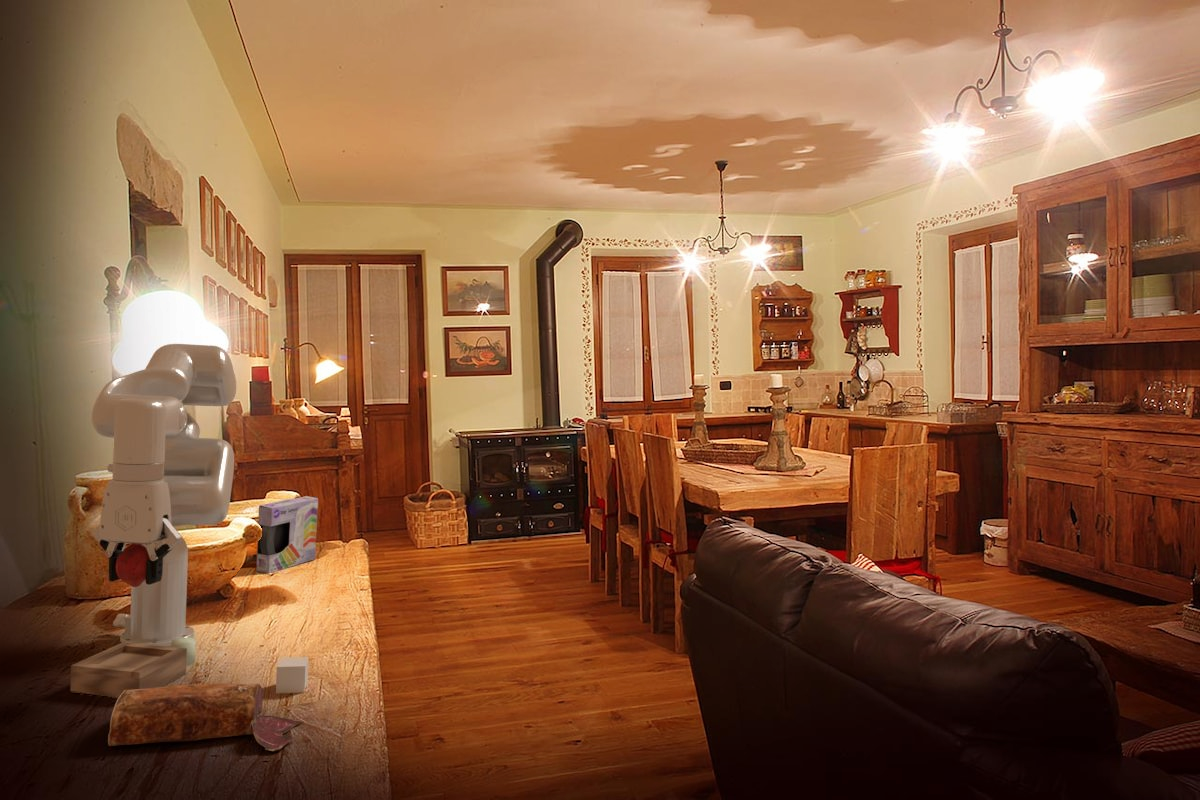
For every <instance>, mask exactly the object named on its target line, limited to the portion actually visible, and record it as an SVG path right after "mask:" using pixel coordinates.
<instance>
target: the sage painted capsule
mask: <svg viewBox="0 0 1200 800" xmlns="http://www.w3.org/2000/svg"><path fill="white" fill-rule="evenodd" d="M196 645H197V639H196V638H194V637H193V638H191V637H183V638H177V639H174V640H172V641H171V646H170V647H176V648H187V658H186V667H187V665H188V666H191V665H193V664H195V663H196V648H197V647H196Z"/></svg>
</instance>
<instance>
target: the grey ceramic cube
mask: <svg viewBox="0 0 1200 800" xmlns="http://www.w3.org/2000/svg"><path fill="white" fill-rule="evenodd" d="M309 659H310V656H303V657H300V656H299V657H295V656H294V657H280V659H279V661H278V663H277V665H276V680H275V694H295V693H296V694H298V693H300V692H301V694H302V692H304V693H305V692H306V689H305V688H307V686H308V683H309V681H308V680H309V678H308V677H309V662H310V661H309ZM307 682H308V683H307ZM306 685H307V686H306Z"/></svg>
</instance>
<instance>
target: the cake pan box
mask: <svg viewBox="0 0 1200 800" xmlns="http://www.w3.org/2000/svg"><path fill="white" fill-rule="evenodd" d="M318 507H319V498H318V497H313V496H308V495H305V496H302V497H300V496H299V497H297V498H290V499H289V498H287V499H283V500H278V501H274V502H269V503H264V504H259V505H258V521H257V522H258V524H259V525H260V526H261V528H262V537H261V539H260V540H259V541H258V540H257V548H256V550H257V551H256V570H255V571H256V572H258V573H264V574H272V573H274V572H278V571H282V570H286V569H288V568H291V567H294V566H297V565H301V564H303V563H304V564H305V563H307V562H310V561H313V560H315V559H316V547H317V531H318V530H317V528H318V527H317V526H318V509H319V508H318ZM258 524H257V525H258Z"/></svg>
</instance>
